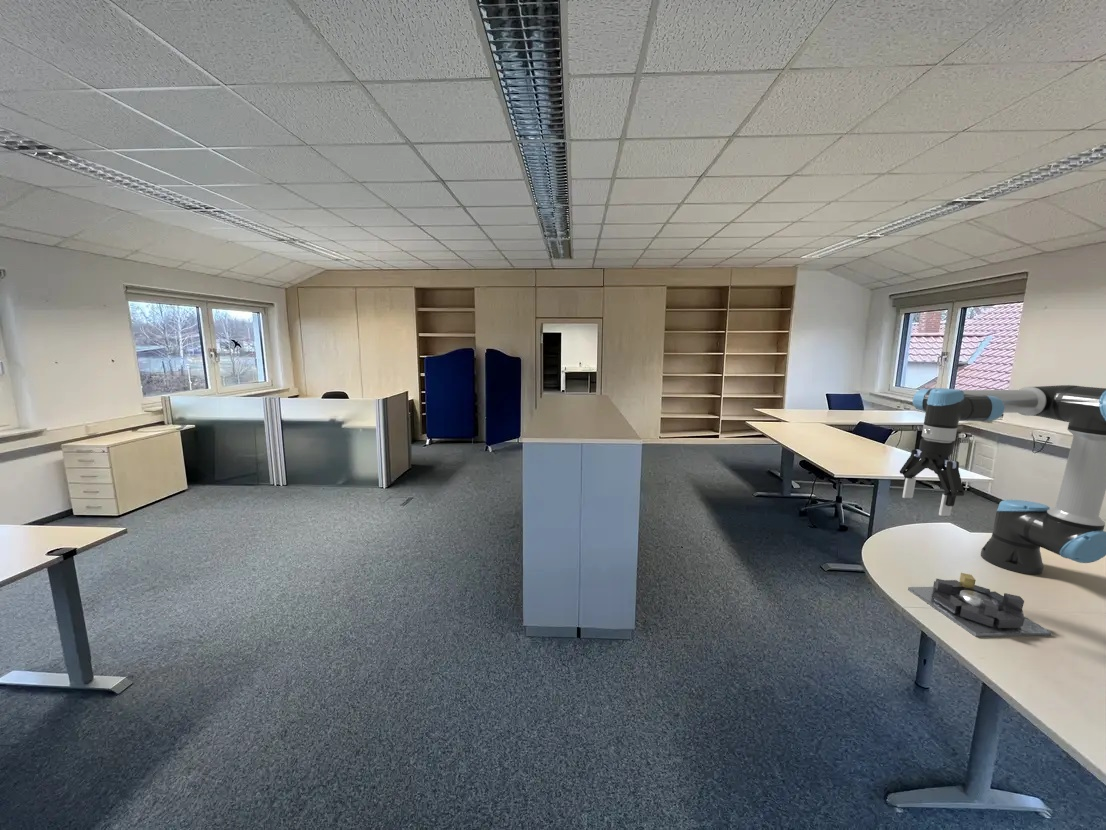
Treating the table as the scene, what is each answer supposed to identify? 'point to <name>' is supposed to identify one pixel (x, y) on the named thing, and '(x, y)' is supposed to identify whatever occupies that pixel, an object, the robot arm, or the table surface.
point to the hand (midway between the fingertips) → (924, 506)
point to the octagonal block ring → (987, 610)
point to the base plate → (973, 626)
